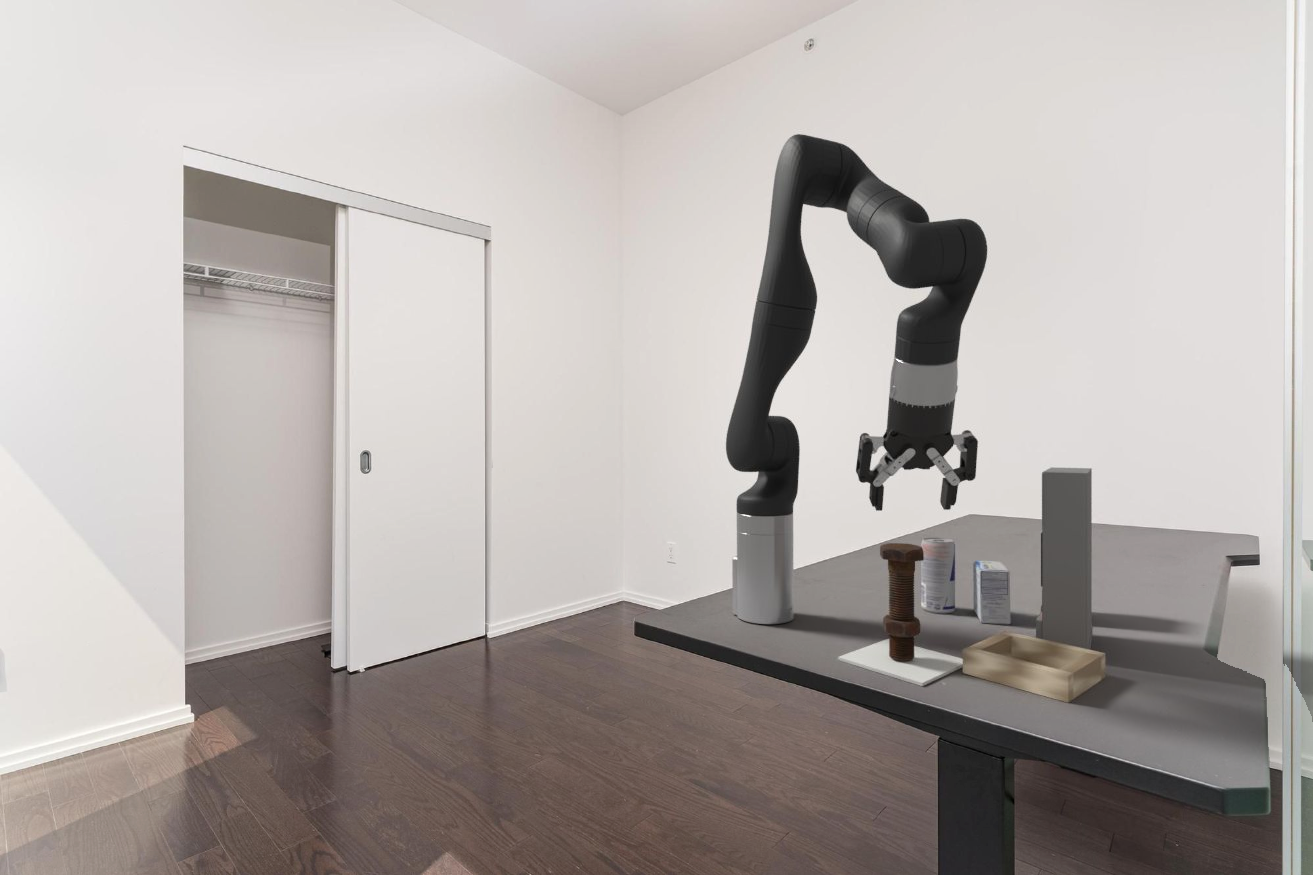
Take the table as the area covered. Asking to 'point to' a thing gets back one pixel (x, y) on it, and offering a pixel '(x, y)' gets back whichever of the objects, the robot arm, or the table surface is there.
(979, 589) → the medicine box
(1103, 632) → the table surface
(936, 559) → the energy drink
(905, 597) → the bolt
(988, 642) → the wooden frame
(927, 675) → the pad
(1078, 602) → the cassette tape recorder
